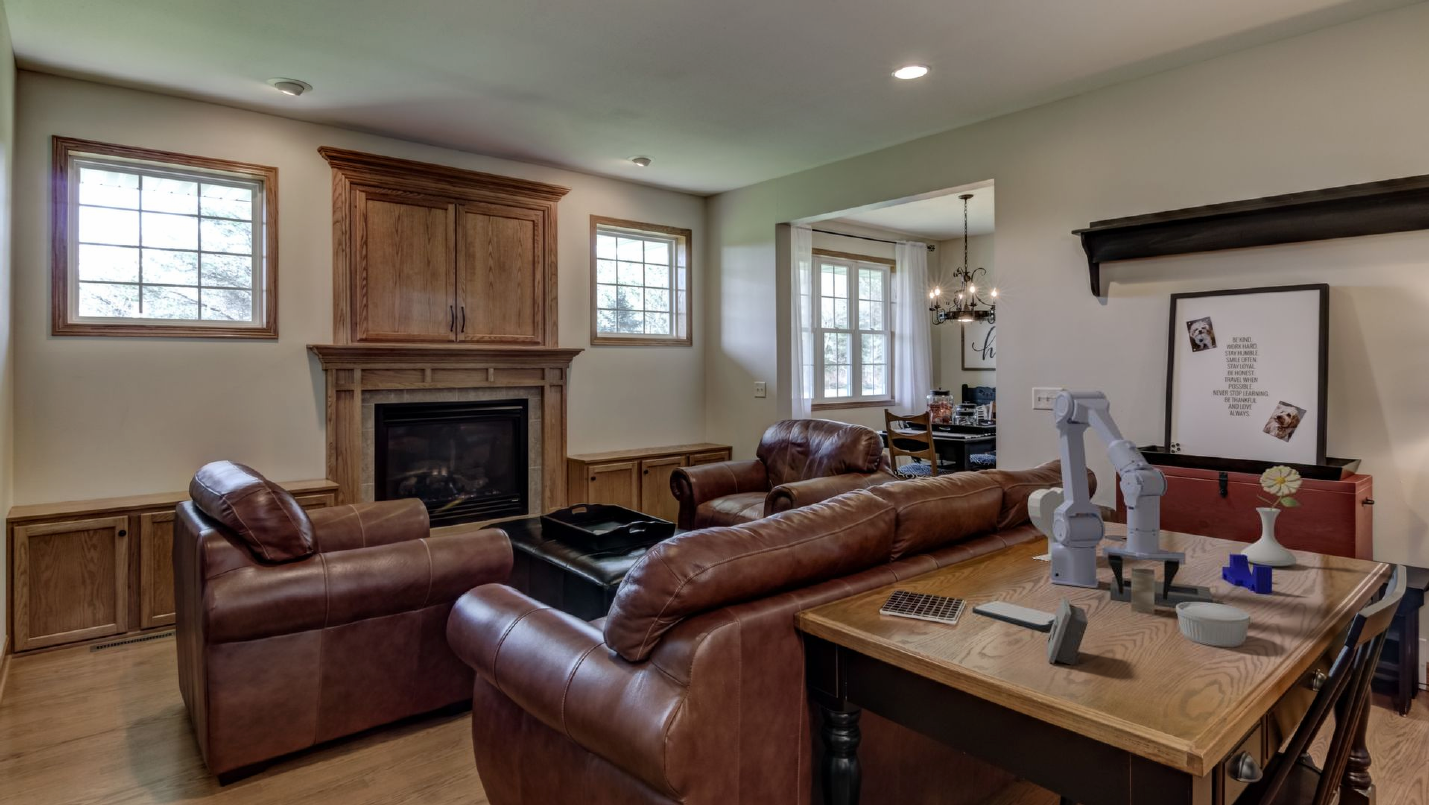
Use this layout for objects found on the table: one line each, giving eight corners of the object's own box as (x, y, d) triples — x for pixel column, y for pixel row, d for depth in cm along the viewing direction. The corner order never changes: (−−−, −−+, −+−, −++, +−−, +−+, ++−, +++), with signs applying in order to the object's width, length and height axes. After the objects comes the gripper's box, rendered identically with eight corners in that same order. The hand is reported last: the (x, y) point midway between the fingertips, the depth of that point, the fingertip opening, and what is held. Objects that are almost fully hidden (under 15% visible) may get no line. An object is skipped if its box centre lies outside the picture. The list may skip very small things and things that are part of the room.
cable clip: (1222, 579, 173) (1222, 553, 173) (1243, 580, 172) (1244, 554, 172) (1248, 594, 161) (1248, 566, 161) (1271, 595, 161) (1272, 567, 160)
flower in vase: (1229, 561, 189) (1230, 463, 188) (1256, 557, 193) (1257, 461, 193) (1287, 573, 177) (1288, 468, 176) (1314, 568, 182) (1315, 465, 181)
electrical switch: (1046, 645, 131) (1051, 594, 131) (1078, 652, 130) (1084, 600, 129) (1048, 665, 123) (1054, 610, 122) (1082, 672, 121) (1089, 616, 120)
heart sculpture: (1063, 551, 202) (1063, 485, 201) (1080, 555, 197) (1080, 487, 197) (1025, 559, 194) (1025, 490, 194) (1042, 563, 190) (1042, 492, 189)
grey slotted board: (1110, 599, 158) (1110, 587, 158) (1112, 587, 167) (1112, 576, 167) (1212, 611, 149) (1212, 599, 149) (1209, 599, 158) (1209, 587, 157)
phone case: (969, 615, 151) (1044, 635, 138) (969, 607, 151) (1044, 626, 138) (995, 607, 156) (1069, 625, 143) (995, 599, 156) (1069, 617, 143)
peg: (1131, 611, 150) (1131, 571, 150) (1131, 606, 154) (1131, 567, 153) (1154, 614, 148) (1154, 574, 148) (1154, 608, 151) (1154, 569, 151)
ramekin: (1180, 624, 142) (1180, 597, 142) (1252, 637, 135) (1252, 608, 135) (1171, 641, 133) (1171, 611, 133) (1247, 655, 126) (1247, 624, 126)
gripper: (1101, 528, 151) (1101, 595, 151) (1186, 535, 143) (1185, 605, 144) (1103, 523, 157) (1103, 587, 157) (1185, 529, 149) (1184, 596, 150)
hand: (1142, 595), depth 151 cm, fingers open, 7 cm apart
